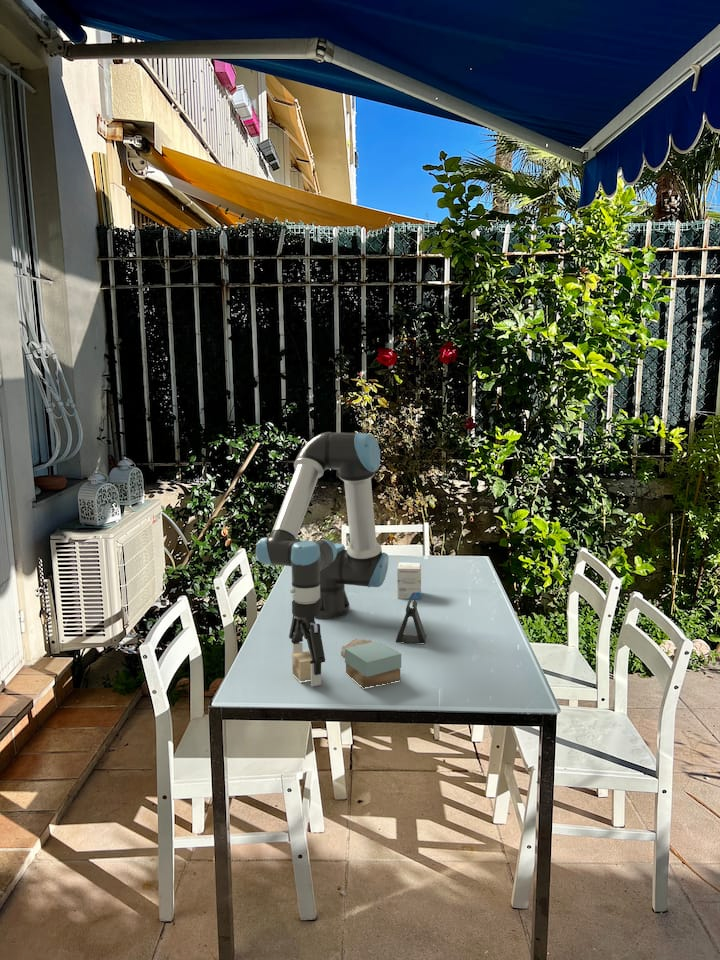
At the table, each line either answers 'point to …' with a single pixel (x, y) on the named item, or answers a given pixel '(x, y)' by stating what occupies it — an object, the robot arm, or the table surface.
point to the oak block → (302, 665)
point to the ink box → (409, 580)
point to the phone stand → (418, 625)
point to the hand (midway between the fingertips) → (306, 675)
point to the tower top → (372, 658)
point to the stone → (354, 644)
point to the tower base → (373, 677)
